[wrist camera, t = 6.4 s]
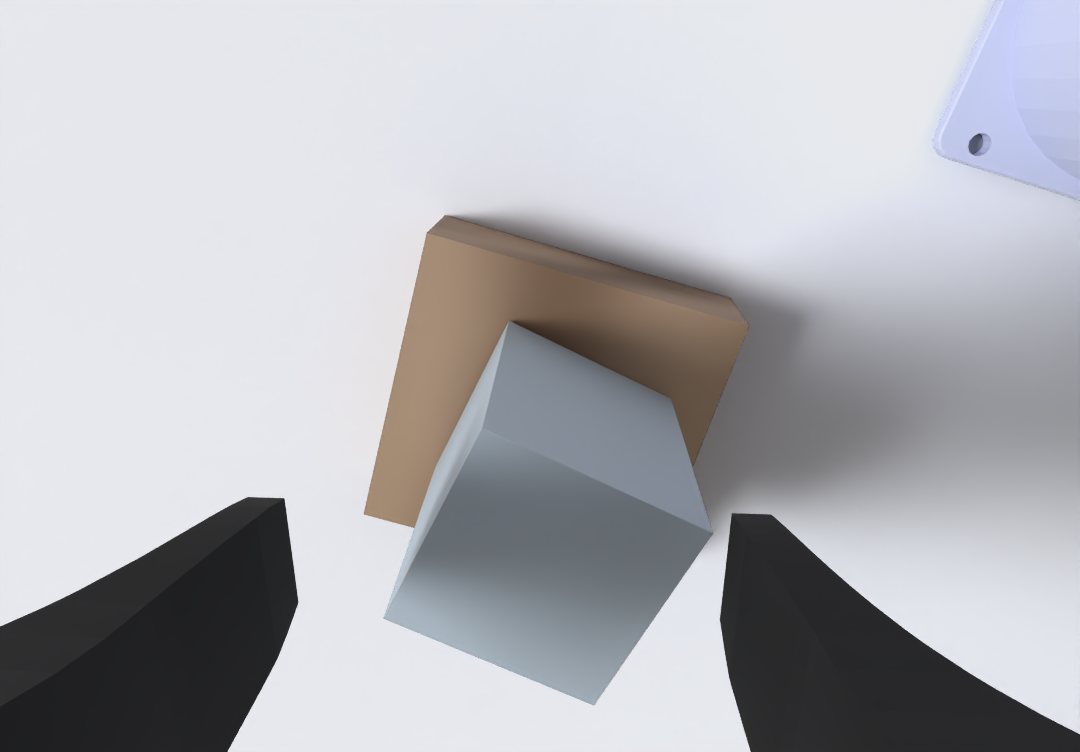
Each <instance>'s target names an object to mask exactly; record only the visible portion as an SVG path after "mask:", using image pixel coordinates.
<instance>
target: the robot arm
mask: <svg viewBox="0 0 1080 752" xmlns="http://www.w3.org/2000/svg"><path fill="white" fill-rule="evenodd" d="M977 134H980V135H982V138H983V145H982V147H981V149H980V150H979V151H978V152H976V153H974V154H971V153H970V151H969V149H968V146H969V141H970V140H971V139H972V137H973V136H975V135H977ZM933 147H934V149H935V151H936V152H937V154H939V155H940V156H942V157H944V158H946V159H949V160H953V161H956V162H959V163H962V164H965V165H968V166H972V167H975V168H978V169H981V170H984V171H987V172H991V173H994V174H997V175H1000V176H1003V177H1006V178H1010V179H1013V180H1016V181H1019V182H1022V183H1025V184H1029V185H1032V186H1035V187H1038V188H1041V189H1044V190H1048V191H1051V192H1054V193H1057V194H1060V195H1063V196H1067V197H1070V198H1073V199H1076V200H1079V201H1080V0H996V1H995V3H994V5H993V7H992V9H991V11H990V14H989V16H988V18H987V20H986V22H985V24H984V27H983V29H982V31H981V33H980V35H979V37H978V39H977V42H976V44H975V46H974V48H973V50H972V52H971V55H970V57H969V59H968V61H967V63H966V65H965V67H964V70H963V72H962V74H961V76H960V78H959V80H958V83H957V85H956V87H955V89H954V91H953V93H952V96H951V98H950V100H949V102H948V104H947V106H946V108H945V111H944V113H943V115H942V117H941V119H940V121H939V124H938V126H937V128H936V130H935V133H934V136H933ZM297 605H298V596H297V589H296V581H295V574H294V566H293V559H292V552H291V544H290V537H289V529H288V522H287V515H286V507H285V500H284V498H256V497H247V498H245V499H243V500H241V501H239V502H237V503H235V504H233V505H231V506H229V507H227V508H225V509H223V510H221V511H220V512H218V513H216V514H214V515H213V516H211V517H209V518H207V519H206V520H204V521H202V522H201V523H199V524H197V525H195V526H194V527H192V528H190V529H189V530H187V531H185V532H183V533H182V534H180V535H178V536H177V537H175V538H173V539H171V540H170V541H168V542H166V543H164V544H163V545H161V546H159V547H158V548H156V549H154V550H152V551H151V552H149V553H147V554H146V555H144V556H142V557H140V558H138V559H137V560H135V561H133V562H131V563H129V564H127V565H125V566H124V567H122V568H120V569H118V570H116V571H114V572H112V573H110V574H109V575H107V576H105V577H103V578H101V579H99V580H97V581H95V582H94V583H92V584H90V585H88V586H86V587H84V588H82V589H80V590H79V591H77V592H75V593H73V594H71V595H69V596H66V597H64V598H62V599H60V600H58V601H56V602H54V603H52V604H50V605H48V606H46V607H43V608H41V609H39V610H37V611H35V612H32V613H30V614H28V615H25V616H23V617H21V618H19V619H16V620H14V621H12V622H10V623H7V624H5V625H3V626H0V752H227V751H228V749H229V748H230V746H231V744H232V742H233V740H234V738H235V737H236V735H237V733H238V731H239V729H240V727H241V726H242V724H243V722H244V720H245V718H246V716H247V715H248V713H249V711H250V709H251V707H252V705H253V704H254V702H255V700H256V698H257V696H258V694H259V692H260V691H261V689H262V687H263V685H264V683H265V681H266V679H267V677H268V676H269V674H270V672H271V670H272V668H273V666H274V664H275V662H276V660H277V658H278V656H279V653H280V651H281V648H282V646H283V643H284V641H285V638H286V636H287V633H288V630H289V627H290V625H291V622H292V619H293V616H294V613H295V611H296V608H297ZM720 623H721V629H722V636H723V643H724V649H725V655H726V661H727V667H728V673H729V678H730V682H731V686H732V689H733V693H734V696H735V700H736V703H737V706H738V710H739V713H740V717H741V720H742V724H743V727H744V730H745V734H746V737H747V740H748V744H749V747H750V751H751V752H1080V734H1078V733H1076V732H1074V731H1072V730H1070V729H1068V728H1066V727H1064V726H1062V725H1060V724H1058V723H1056V722H1054V721H1052V720H1051V719H1049V718H1047V717H1045V716H1043V715H1041V714H1039V713H1037V712H1036V711H1034V710H1032V709H1030V708H1028V707H1027V706H1025V705H1023V704H1021V703H1020V702H1018V701H1016V700H1014V699H1012V698H1011V697H1009V696H1007V695H1005V694H1004V693H1002V692H1000V691H998V690H996V689H995V688H993V687H991V686H990V685H988V684H986V683H985V682H983V681H981V680H980V679H978V678H976V677H975V676H973V675H971V674H970V673H968V672H967V671H965V670H964V669H962V668H961V667H959V666H958V665H956V664H954V663H953V662H951V661H950V660H948V659H947V658H945V657H944V656H942V655H941V654H939V653H938V652H936V651H935V650H933V649H932V648H930V647H929V646H927V645H926V644H924V643H923V642H922V641H920V640H919V639H917V638H916V637H915V636H913V635H912V634H910V633H909V632H908V631H906V630H905V629H904V628H902V627H901V626H900V625H898V624H897V623H896V622H895V621H893V620H892V619H891V618H889V617H888V616H887V615H885V614H884V613H883V612H882V611H880V610H879V609H878V608H876V607H875V606H874V605H873V604H871V603H870V602H869V601H868V600H867V599H865V598H864V597H863V596H862V595H860V594H859V593H858V592H857V591H856V590H854V589H853V588H852V587H851V586H850V585H849V584H847V583H846V582H845V581H844V580H843V579H842V578H841V577H839V576H838V575H837V574H836V573H835V572H834V571H833V570H831V569H830V568H829V567H828V566H827V565H826V564H825V563H824V562H823V561H821V560H820V559H819V558H818V557H817V556H816V555H815V554H814V553H813V552H812V551H811V550H809V549H808V548H807V547H806V546H805V545H804V544H803V543H802V542H801V541H800V540H799V539H798V538H797V537H795V536H794V535H793V534H792V533H791V532H790V531H789V530H788V529H787V528H786V527H785V526H784V525H782V524H781V523H780V522H779V521H778V520H777V519H776V518H775V517H773V516H772V515H766V514H736V513H732V517H731V526H730V535H729V544H728V553H727V562H726V571H725V579H724V588H723V597H722V606H721V615H720Z"/></svg>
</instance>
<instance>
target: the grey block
mask: <svg viewBox="0 0 1080 752" xmlns="http://www.w3.org/2000/svg"><path fill="white" fill-rule="evenodd" d="M712 534H713V532H712V528H711V525H710V522H709V519H708V516H707V512H706V509H705V506H704V503H703V500H702V496H701V493H700V490H699V487H698V484H697V480H696V477H695V474H694V471H693V468H692V464H691V461H690V458H689V455H688V452H687V448H686V445H685V442H684V439H683V436H682V432H681V429H680V426H679V423H678V420H677V416H676V413H675V410H674V407H673V404H672V400H671V398H669V397H666V396H664V395H662V394H660V393H658V392H656V391H654V390H652V389H650V388H648V387H646V386H644V385H642V384H639V383H637V382H635V381H633V380H631V379H629V378H627V377H625V376H623V375H621V374H619V373H617V372H614V371H612V370H610V369H608V368H606V367H604V366H602V365H600V364H598V363H596V362H594V361H592V360H590V359H587V358H585V357H583V356H581V355H579V354H577V353H575V352H573V351H571V350H569V349H567V348H565V347H563V346H560V345H558V344H556V343H554V342H552V341H550V340H548V339H546V338H544V337H542V336H540V335H538V334H535V333H533V332H531V331H529V330H527V329H525V328H523V327H521V326H519V325H517V324H515V323H513V322H511V321H509V322H508V324H507V326H506V328H505V330H504V332H503V333H502V335H501V337H500V339H499V341H498V343H497V345H496V347H495V349H494V351H493V353H492V355H491V357H490V359H489V361H488V363H487V365H486V367H485V369H484V371H483V373H482V375H481V377H480V379H479V381H478V383H477V385H476V387H475V389H474V391H473V393H472V395H471V397H470V399H469V401H468V403H467V405H466V407H465V409H464V411H463V413H462V415H461V417H460V419H459V421H458V423H457V425H456V427H455V429H454V431H453V433H452V435H451V437H450V439H449V441H448V443H447V445H446V447H445V449H444V451H443V453H442V455H441V457H440V459H439V461H438V463H437V465H436V467H435V470H434V473H433V476H432V479H431V481H430V484H429V487H428V490H427V493H426V496H425V499H424V502H423V505H422V508H421V511H420V514H419V516H418V519H417V522H416V525H415V528H414V531H413V534H412V537H411V540H410V543H409V546H408V549H407V551H406V554H405V557H404V560H403V563H402V566H401V569H400V572H399V575H398V578H397V581H396V583H395V586H394V589H393V592H392V595H391V598H390V601H389V604H388V607H387V610H386V613H385V616H384V618H383V619H386V620H388V621H391V622H393V623H396V624H398V625H400V626H403V627H405V628H408V629H410V630H413V631H415V632H417V633H420V634H422V635H425V636H427V637H429V638H432V639H434V640H437V641H439V642H442V643H444V644H446V645H449V646H451V647H454V648H456V649H459V650H461V651H463V652H466V653H468V654H471V655H473V656H475V657H478V658H480V659H483V660H485V661H488V662H490V663H492V664H495V665H497V666H500V667H502V668H505V669H507V670H509V671H512V672H514V673H517V674H519V675H522V676H524V677H526V678H529V679H531V680H534V681H536V682H538V683H541V684H543V685H546V686H548V687H551V688H553V689H555V690H558V691H560V692H563V693H565V694H568V695H570V696H572V697H575V698H577V699H580V700H582V701H584V702H587V703H589V704H592V705H595V703H596V702H597V700H598V699H599V698H600V696H601V695H602V693H603V692H604V690H605V689H606V687H607V686H608V685H609V683H610V682H611V680H612V679H613V677H614V676H615V674H616V673H617V671H618V670H619V669H620V667H621V666H622V664H623V663H624V661H625V660H626V658H627V657H628V656H629V654H630V653H631V651H632V650H633V648H634V647H635V645H636V644H637V642H638V641H639V640H640V638H641V637H642V635H643V634H644V632H645V631H646V629H647V628H648V627H649V625H650V624H651V622H652V621H653V619H654V618H655V616H656V615H657V614H658V612H659V611H660V609H661V608H662V606H663V605H664V603H665V602H666V600H667V599H668V598H669V596H670V595H671V593H672V592H673V590H674V589H675V587H676V586H677V585H678V583H679V582H680V580H681V579H682V577H683V576H684V574H685V573H686V572H687V570H688V569H689V567H690V566H691V564H692V563H693V561H694V560H695V558H696V557H697V556H698V554H699V553H700V551H701V550H702V548H703V547H704V545H705V544H706V543H707V541H708V540H709V538H710V537H711V535H712Z"/></svg>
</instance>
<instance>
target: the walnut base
mask: <svg viewBox="0 0 1080 752" xmlns="http://www.w3.org/2000/svg"><path fill="white" fill-rule="evenodd" d="M509 321H511V322H513V323H515V324H517V325H519V326H521V327H523V328H525V329H527V330H529V331H531V332H533V333H535V334H538V335H540V336H542V337H544V338H546V339H548V340H550V341H552V342H554V343H556V344H558V345H560V346H563V347H565V348H567V349H569V350H571V351H573V352H575V353H577V354H579V355H581V356H583V357H585V358H587V359H590V360H592V361H594V362H596V363H598V364H600V365H602V366H604V367H606V368H608V369H610V370H612V371H614V372H617V373H619V374H621V375H623V376H625V377H627V378H629V379H631V380H633V381H635V382H637V383H639V384H642V385H644V386H646V387H648V388H650V389H652V390H654V391H656V392H658V393H660V394H662V395H664V396H666V397H669V398H671V400H672V404H673V407H674V410H675V413H676V416H677V420H678V423H679V426H680V429H681V432H682V436H683V439H684V442H685V445H686V448H687V452H688V455H689V458H690V461H691V464H692V467H693V465H694V462H695V460H696V457H697V455H698V452H699V450H700V447H701V445H702V442H703V440H704V437H705V435H706V432H707V430H708V427H709V425H710V422H711V420H712V417H713V415H714V412H715V410H716V408H717V405H718V403H719V400H720V398H721V395H722V393H723V390H724V388H725V385H726V383H727V380H728V378H729V375H730V373H731V370H732V368H733V365H734V363H735V360H736V358H737V355H738V353H739V350H740V348H741V345H742V343H743V341H744V338H745V336H746V333H747V331H748V328H749V325H748V323H747V322H746V320H745V319H744V317H743V316H742V314H741V313H740V311H739V310H738V309H737V307H736V306H735V304H734V303H733V301H732V300H731V298H728V297H725V296H721V295H718V294H714V293H711V292H708V291H704V290H701V289H697V288H694V287H690V286H687V285H683V284H680V283H677V282H673V281H670V280H666V279H663V278H659V277H656V276H652V275H649V274H645V273H642V272H639V271H635V270H632V269H628V268H625V267H621V266H618V265H614V264H611V263H608V262H604V261H601V260H597V259H594V258H590V257H587V256H583V255H580V254H577V253H573V252H570V251H566V250H563V249H559V248H556V247H552V246H549V245H546V244H542V243H539V242H535V241H532V240H528V239H525V238H521V237H518V236H515V235H511V234H508V233H504V232H501V231H497V230H494V229H490V228H487V227H484V226H480V225H477V224H473V223H470V222H466V221H463V220H459V219H456V218H453V217H449V216H446V215H445V216H444V217H443V218H442V219H441V220H440V221H439V222H438V223H437V224H436V225H435V226H433V227H432V228H431V229H430V230H429V231H428V232H427V234H426V239H425V243H424V248H423V252H422V257H421V261H420V266H419V270H418V275H417V279H416V283H415V288H414V292H413V297H412V301H411V306H410V310H409V315H408V319H407V324H406V328H405V332H404V337H403V341H402V346H401V350H400V355H399V359H398V364H397V368H396V373H395V377H394V382H393V386H392V390H391V395H390V399H389V404H388V408H387V413H386V417H385V422H384V426H383V431H382V435H381V439H380V444H379V448H378V453H377V457H376V462H375V466H374V471H373V475H372V480H371V484H370V489H369V493H368V497H367V502H366V506H365V511H364V514H365V515H368V516H372V517H376V518H379V519H383V520H387V521H391V522H394V523H398V524H402V525H406V526H409V527H413V528H415V525H416V522H417V519H418V516H419V514H420V511H421V508H422V505H423V502H424V499H425V496H426V493H427V490H428V487H429V484H430V481H431V479H432V476H433V473H434V470H435V467H436V465H437V463H438V461H439V459H440V457H441V455H442V453H443V451H444V449H445V447H446V445H447V443H448V441H449V439H450V437H451V435H452V433H453V431H454V429H455V427H456V425H457V423H458V421H459V419H460V417H461V415H462V413H463V411H464V409H465V407H466V405H467V403H468V401H469V399H470V397H471V395H472V393H473V391H474V389H475V387H476V385H477V383H478V381H479V379H480V377H481V375H482V373H483V371H484V369H485V367H486V365H487V363H488V361H489V359H490V357H491V355H492V353H493V351H494V349H495V347H496V345H497V343H498V341H499V339H500V337H501V335H502V333H503V332H504V330H505V328H506V326H507V324H508V322H509Z"/></svg>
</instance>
